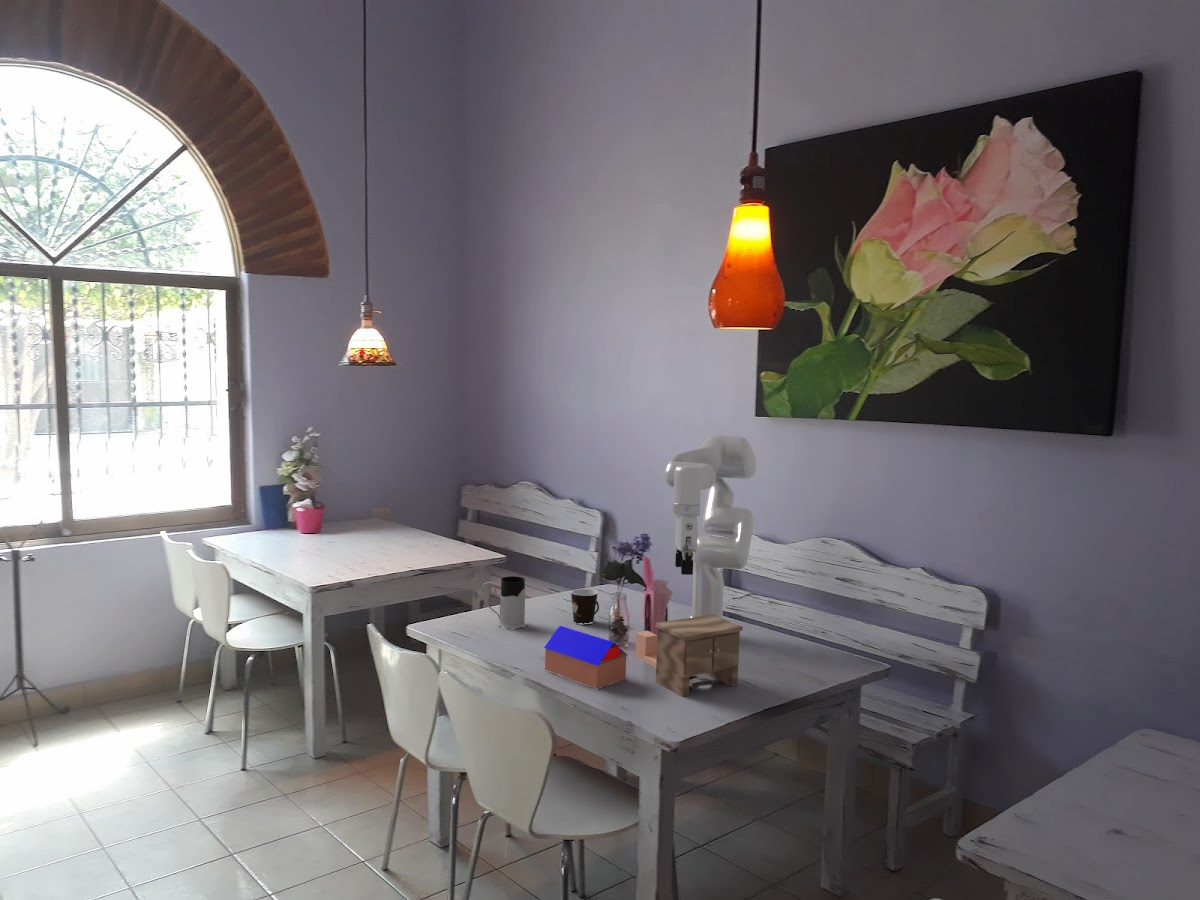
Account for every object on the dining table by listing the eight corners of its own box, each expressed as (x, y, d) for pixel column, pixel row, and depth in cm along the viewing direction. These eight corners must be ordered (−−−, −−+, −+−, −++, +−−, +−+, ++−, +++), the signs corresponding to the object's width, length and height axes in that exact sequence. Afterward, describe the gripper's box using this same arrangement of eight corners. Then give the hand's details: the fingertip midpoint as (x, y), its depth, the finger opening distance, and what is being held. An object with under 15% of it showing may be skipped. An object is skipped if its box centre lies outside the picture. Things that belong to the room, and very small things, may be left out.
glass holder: (523, 629, 285) (525, 582, 283) (479, 627, 285) (479, 581, 284) (527, 621, 293) (528, 576, 292) (483, 620, 294) (484, 574, 292)
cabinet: (653, 681, 241) (655, 622, 240) (709, 670, 251) (711, 614, 250) (683, 698, 230) (686, 637, 228) (741, 686, 240) (744, 627, 238)
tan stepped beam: (633, 656, 262) (634, 632, 261) (648, 653, 265) (648, 630, 264) (677, 679, 244) (678, 654, 243) (692, 676, 246) (693, 651, 246)
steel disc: (685, 685, 240) (685, 680, 240) (703, 681, 243) (703, 676, 243) (698, 692, 235) (699, 687, 235) (717, 689, 238) (717, 683, 238)
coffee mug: (568, 618, 298) (569, 589, 297) (594, 618, 300) (595, 588, 299) (573, 629, 287) (574, 598, 286) (600, 628, 288) (601, 597, 287)
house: (573, 661, 256) (575, 621, 255) (627, 679, 243) (628, 637, 242) (543, 671, 248) (544, 629, 246) (596, 690, 234) (598, 646, 233)
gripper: (705, 515, 243) (703, 577, 245) (694, 505, 260) (691, 564, 262) (678, 514, 243) (675, 577, 244) (668, 505, 260) (665, 563, 261)
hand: (683, 570), depth 253 cm, fingers open, 9 cm apart
